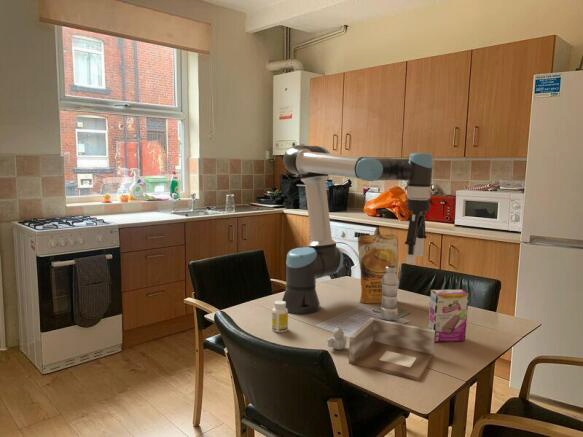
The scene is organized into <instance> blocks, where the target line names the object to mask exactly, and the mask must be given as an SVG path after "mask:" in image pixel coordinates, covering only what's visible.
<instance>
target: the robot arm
mask: <svg viewBox="0 0 583 437" xmlns="http://www.w3.org/2000/svg"><path fill="white" fill-rule="evenodd" d="M433 160H434V158H433V155H432V154H431V153H429V152H428V153H427V152H426V153H425V152H412V153H410V154H409V158H391V157H385V158H384V157H383V158H382V157H367V156H357V155H347V154H337V153H336V154H335V153H331V152H330V151H329V150H328V149H326V148H325V147H323V146H318V145H300V144H299V145H298V144H297V145H293V146H291V147H288V148H287V150H286V151H285V152H284V154H283V159H282V162H283V165H284V167H285V170H286V171H288V172H289V173H290V174H294V175H299V176H300V181H301V182H302V183H303V184H304V187H305V188H304V190H305V198H306V206H307V214H308V225H309V233H310V242H309V243H308V245H307V246H304V247H296V248H292V249H290V250H289V251H288V252H287V254H286V261H285V264H286V268H285V269H286V271H285V272H286V274H285V275H286V276H285V278H286V280H285V281H286V283H285V290H284V295H283V297H282V300H281V301H285V302H286V307H285V308H287V309H288V313H290V314H298V315H300V314H301V315H302V314H303V315H305V314H313V313H316V312H318V311H319V310H320V309H321V308H320V304H321V303H320V299H319V295H318V294H317V292H318V291H317V288H316V287H317V286H316V283H317V281H316V280H317V279H320V278H324V277H327V276H329V277H330V276H332V275H334V274H336V273H338V272H339V271H340V270H341V269H342V268H343V263H344V255H343V253H342V251H341V249H340V248H339V247H337V242H336V241H335V240H334V239H333V238H332V237H333V236H332V229H331V221H330V220H331V219H330V210H329V202H328V194H327V193H328V192H327V184H326V183H327V182H326V181H327V180H328V178H329V175H330V176H336V177H337V176H338V177H345V178H351V179H352V178H353V179H359V180H362V181H365V182H374V181H375V182H377V181H406V182H408V183H407V194H406V195H407V201H406V209H407V210H408V211H412V214H410V215H409V223H408V227H407V234H406V240H405V241H404V245H406V246H407V248H406V262H405V263H406V264H407V265H413V266H414V265H415V264H416V257H421V258H423V257H424V248H425V246H424V245H425V244H424V243H425V239H427V237H428V236H427V235H426V234H427V233H426V212H428V211H430V208H431V201H430V199H431V193H433V189H431V188H432V176H433V175H432V174H433V169H434V167H433V164H434V163H433Z"/></svg>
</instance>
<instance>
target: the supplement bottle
mask: <svg viewBox="0 0 583 437" xmlns="http://www.w3.org/2000/svg"><path fill="white" fill-rule="evenodd" d="M273 304H274V305H273V308H272V310H271V321H272V322H271V330H272V331H273V332H275V333H285V332H287V331H288V328H289V327H288V325H289V324H288V323H289V312H288V309H287V308H285V307H286V302H285V301H282V300H275V301H274V303H273Z"/></svg>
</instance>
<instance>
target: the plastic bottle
mask: <svg viewBox="0 0 583 437" xmlns="http://www.w3.org/2000/svg"><path fill="white" fill-rule="evenodd" d="M385 271H386V273H385V274H384V276H383V277H382V279H381V283H382V294H383V295H382V303H381V304H380V305H381V306H380V310H379V313H380V314H379V316H380V317H381V320H385V321H390V322H393V321H396V320H397V319H398V315H399V308H398V293H399V292H398V291H399V286H400V279H399V277H398V274H397V275H396V274H395V272H396V267H395V266H386V270H385Z"/></svg>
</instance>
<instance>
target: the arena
mask: <svg viewBox="0 0 583 437" xmlns="http://www.w3.org/2000/svg"><path fill="white" fill-rule="evenodd" d="M434 338H435V330H431V329H428V328H424V327H420V326H415V325H409V324H404V323H400V322H395V321H389V320H384V319H379V318H374V317H370V318H369V319H368V320H367V321H365V323H363V324H362V325H361V326H360V327H358V329H356V330H355V331H354V332H353V333H351V335H350V336H349V342H348V345H349V347H348V364H351V365H355V366H359V367H362V368H367V369H370V370H375V371H378V372H382V373H387V374H390V375H394V376H398V377H402V378H405V379H410V380H413V381H417V382H419V381H420V380H421V378H422V376H423V375H424V373H425V371H426V370H427V369H428V366H429V364H430V363H431V360H432V359H433V358H434V355H435V354H434V351H435V342H434Z"/></svg>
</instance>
